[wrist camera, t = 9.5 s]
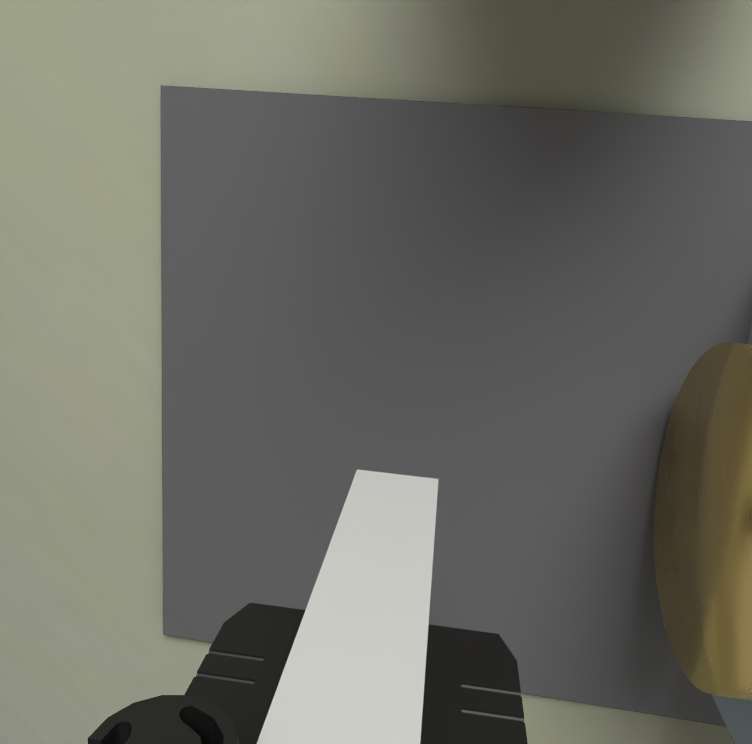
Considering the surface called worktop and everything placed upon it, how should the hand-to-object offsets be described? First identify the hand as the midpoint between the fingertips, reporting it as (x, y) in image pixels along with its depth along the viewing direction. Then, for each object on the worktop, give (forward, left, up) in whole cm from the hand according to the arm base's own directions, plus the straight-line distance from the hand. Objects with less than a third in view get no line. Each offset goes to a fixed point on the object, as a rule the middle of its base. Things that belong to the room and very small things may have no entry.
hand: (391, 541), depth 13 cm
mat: (+6, 0, -9) cm, 10 cm away
